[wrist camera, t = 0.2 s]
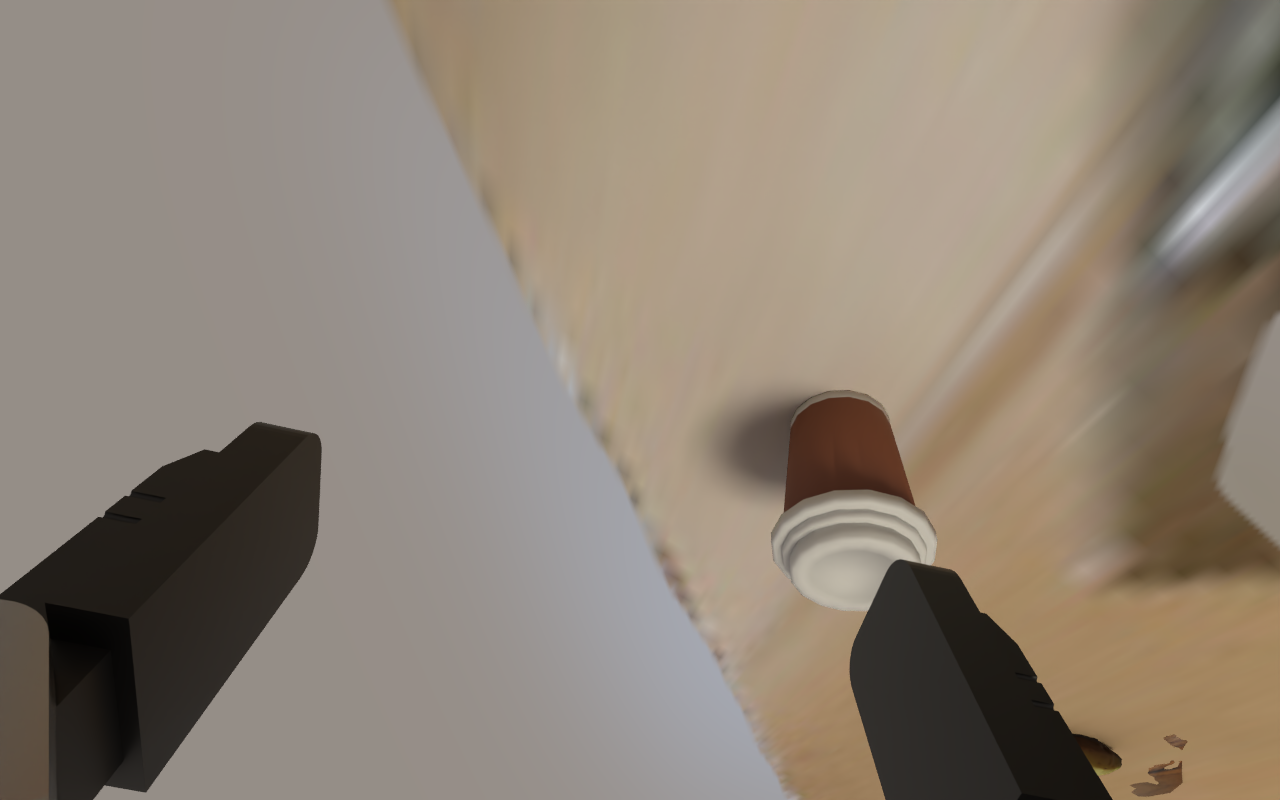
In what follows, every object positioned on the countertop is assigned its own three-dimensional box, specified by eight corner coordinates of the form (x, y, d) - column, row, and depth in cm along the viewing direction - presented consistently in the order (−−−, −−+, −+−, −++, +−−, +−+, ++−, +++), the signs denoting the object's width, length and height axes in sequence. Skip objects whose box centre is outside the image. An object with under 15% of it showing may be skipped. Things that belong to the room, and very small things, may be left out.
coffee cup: (746, 442, 50) (741, 590, 42) (817, 353, 44) (829, 503, 36) (857, 488, 52) (876, 639, 43) (940, 407, 46) (982, 563, 37)
